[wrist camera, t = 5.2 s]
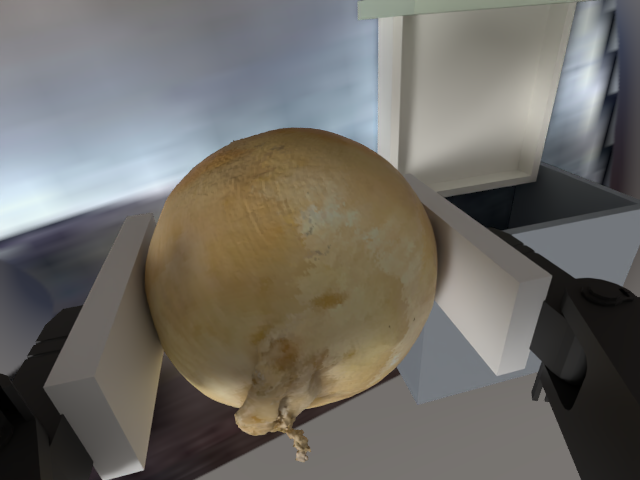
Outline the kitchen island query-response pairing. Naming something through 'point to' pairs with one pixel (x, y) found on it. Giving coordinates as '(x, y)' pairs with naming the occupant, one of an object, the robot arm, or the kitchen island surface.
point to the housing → (553, 244)
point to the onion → (290, 275)
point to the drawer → (467, 87)
